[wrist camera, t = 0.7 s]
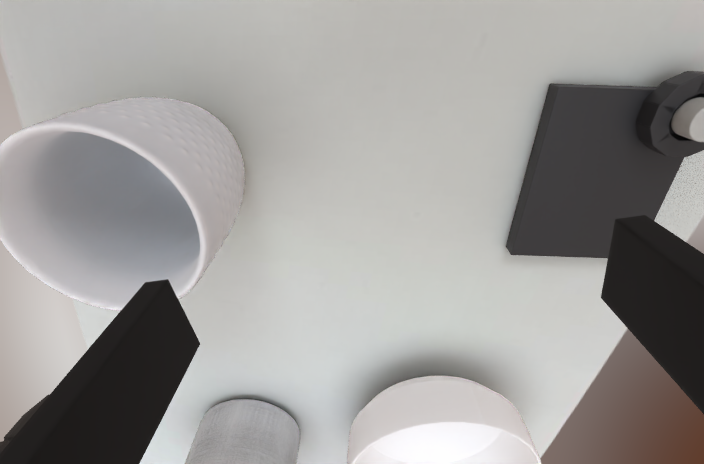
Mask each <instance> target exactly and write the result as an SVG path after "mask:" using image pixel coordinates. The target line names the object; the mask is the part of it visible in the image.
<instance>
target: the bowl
mask: <svg viewBox="0 0 704 464" xmlns="http://www.w3.org/2000/svg"><path fill="white" fill-rule="evenodd" d="M347 464H542V463H541V461H540V458H539V455H538V452H537V450H536V447H535V445H534V443H533V441H532V438H531V436H530V434H529V431H528V429H527V427H526V425H525V423H524V421H523V419H522V418H521V416H520V414H519V412H518V411H517V409H516V408H515V407H514V405H513V404H512V403H511V402H510V401H509V400H507V399H506V398H505V397H503V396H502V395H501V394H499V393H497V392H495V391H493V390H491V389H489V388H487V387H485V386H483V385H481V384H479V383H477V382H474V381H471V380H468V379H464V378H460V377H452V376H425V377H418V378H413V379H410V380H406V381H402V382H400V383H397V384H395V385H393V386H391V387H388V388H387V389H385V390H384V391H382V392H381V393H379V394H378V395H376V396H375V397H374V398H373V399H372V400H371V401H370V402H369V403H368V404H367V405H366V406H365V407H364V408H363V409H362V410H361V411H360V412H359V413H358V415H357V416H356V418H355V419H354V421H353V423H352V426H351V430H350V434H349V443H348V453H347Z"/></svg>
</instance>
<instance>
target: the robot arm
mask: <svg viewBox="0 0 704 464" xmlns="http://www.w3.org/2000/svg"><path fill="white" fill-rule="evenodd" d="M601 298H602V299H603V301H604V302H605V303H606V304H607V305H608V306H609V307H610V309H611V310H612V311H613V312H614V313H615V314H616V315H617V316H618V318H619V319H620V320H621V321H622V322H623V323H624V324H625V325H626V327H627V328H628V329H629V330H630V331H631V332H632V333H633V335H634V336H635V337H636V338H637V339H638V340H639V341H640V342H641V344H642V345H643V346H644V347H645V348H646V349H647V350H648V351H649V353H650V354H651V355H652V356H653V357H654V358H655V359H656V361H657V362H658V363H659V364H660V365H661V366H662V367H663V368H664V370H665V371H666V372H667V373H668V374H669V375H670V376H671V378H672V379H673V380H674V381H675V382H676V383H677V384H678V385H679V386H680V388H681V389H682V390H683V391H684V392H685V393H686V395H687V396H688V397H689V398H690V399H691V400H692V401H693V402H694V404H695V405H696V406H697V407H698V408H699V409H700V410H701V411H702V413H703V414H704V254H703V253H701V252H700V251H698V250H697V249H695V248H694V247H692V246H691V245H689V244H688V243H686V242H685V241H683V240H682V239H680V238H679V237H677V236H676V235H674V234H673V233H671V232H670V231H668V230H667V229H665V228H664V227H662V226H661V225H659V224H658V223H656V222H655V221H653V220H652V219H650V218H649V217H647V216H646V215H642V216H634V217H627V218H619V219H615V223H614V229H613V234H612V240H611V245H610V251H609V256H608V262H607V267H606V273H605V278H604V284H603V289H602V295H601ZM199 345H200V342H199V340H198V338H197V336H196V334H195V332H194V330H193V328H192V326H191V324H190V322H189V320H188V318H187V316H186V314H185V312H184V310H183V308H182V306H181V304H180V302H179V300H178V298H177V296H176V294H175V292H174V290H173V288H172V286H171V284H170V282H169V280H168V279H166V280H159V281H151V282H145V283H144V284H143V285H142V287H141V288H140V289H139V290H138V291H137V293H136V294H135V295H134V296H133V297H132V298H131V300H130V301H129V302H128V303H127V304H126V305H125V307H124V308H123V309H122V310H121V311H120V313H119V314H118V315H117V316H116V317H115V318H114V320H113V321H112V322H111V323H110V324H109V326H108V327H107V328H106V329H105V330H104V331H103V333H102V334H101V335H100V336H99V337H98V339H97V340H96V341H95V342H94V343H93V344H92V346H91V347H90V348H89V349H88V350H87V352H86V353H85V354H84V355H83V356H82V357H81V359H80V360H79V361H78V362H77V363H76V365H75V366H74V367H73V368H72V369H71V370H70V372H69V373H68V374H67V376H65V378H64V379H63V380H62V381H61V382H60V383H59V385H58V386H57V387H56V388H55V389H54V391H53V392H52V393H51V394H50V395H47V396H46V397H45V398H44V399H43V400H41V401H40V402H39V403H37V404H36V405H35V406H34V407H33V408H31V409H30V410H29V411H28V412H27V413H25V414H24V415H23V416H22V418H21V419H20V420H19V421H18V422H17V423H16V424H15V425H14V427H13V428H12V429H11V430H10V431H9V432H8V434H7V435H6V436H5V437H4V441H3V442H0V464H139V463H140V461H141V459H142V457H143V455H144V453H145V451H146V449H147V447H148V445H149V443H150V441H151V439H152V437H153V435H154V434H155V432H156V430H157V428H158V426H159V424H160V422H161V420H162V418H163V416H164V414H165V412H166V410H167V408H168V406H169V404H170V402H171V400H172V398H173V396H174V394H175V392H176V390H177V388H178V386H179V384H180V382H181V380H182V378H183V377H184V375H185V373H186V371H187V369H188V367H189V365H190V363H191V361H192V359H193V357H194V355H195V353H196V351H197V349H198V347H199Z"/></svg>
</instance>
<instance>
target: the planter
mask: <svg viewBox="0 0 704 464" xmlns="http://www.w3.org/2000/svg"><path fill="white" fill-rule="evenodd" d="M299 444H300V430H299V427H298V425H297V423H296V422H295V420H294V419H293V418H292V417H291V416H290V415H289V414H288V413H286V412H285V411H284V410H282V409H281V408H279V407H277V406H275V405H272V404H270V403H267V402H264V401H259V400H254V399H235V400H230V401H226V402H223V403H220V404H217V405H215V406H214V407H212V408H211V409H209V410H208V411H207V412H206V414H205V415H204V417H203V418H202V420H201V422H200V425H199V427H198V430H197V432H196V435H195V438H194V440H193V443H192V446H191V448H190V451H189V454H188V456H187V459H186V462H185V464H296V463H297V457H298V450H299Z"/></svg>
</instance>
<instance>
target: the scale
mask: <svg viewBox="0 0 704 464" xmlns="http://www.w3.org/2000/svg"><path fill="white" fill-rule="evenodd" d="M697 97H704V72H694V71H687V72H683V73H681V74H679V75H677V76H675V77H673V78H670V79H668V80H666V81H664V82H663V83H661V84H660V85H659V86H658V87H633V86H603V85H573V84H550V86H549V89H548V93H547V97H546V100H545V104H544V108H543V112H542V115H541V119H540V123H539V126H538V130H537V134H536V137H535V141H534V145H533V148H532V152H531V156H530V160H529V163H528V167H527V171H526V174H525V178H524V182H523V185H522V189H521V193H520V196H519V200H518V204H517V208H516V211H515V215H514V219H513V222H512V226H511V230H510V233H509V237H508V241H507V245H506V248H507V249H508V251H509V252H510V254H511V255H532V256H561V257H591V258H608V256H609V251H610V245H611V240H612V234H613V229H614V223H615V219H619V218H627V217H634V216H642V215H646V216H647V217H649V218H650V219H652V220H653V221H654V219H655V217H656V215H657V213H658V211H659V209H660V207H661V205H662V203H663V201H664V199H665V196H666V194H667V192H668V190H669V188H670V186H671V184H672V182H673V180H674V178H675V176H676V173H677V171H678V169H679V167H680V165H681V163H682V161H683V159H684V157H688V156H690V155H693V154H695V153H698V152H700V151H702V150H704V142H697V141H694V140H691V139H688V138H685V137H683V136H680V135H677V134H676V133H675V132H674V131H673V130H672V127H671V120H672V117H673V115H674V113H675V112H676V110H677V109H678V108H679V107H680V106H681V105H682V104H683V103H685V102H686V101H688V100H690V99H693V98H697Z"/></svg>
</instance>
